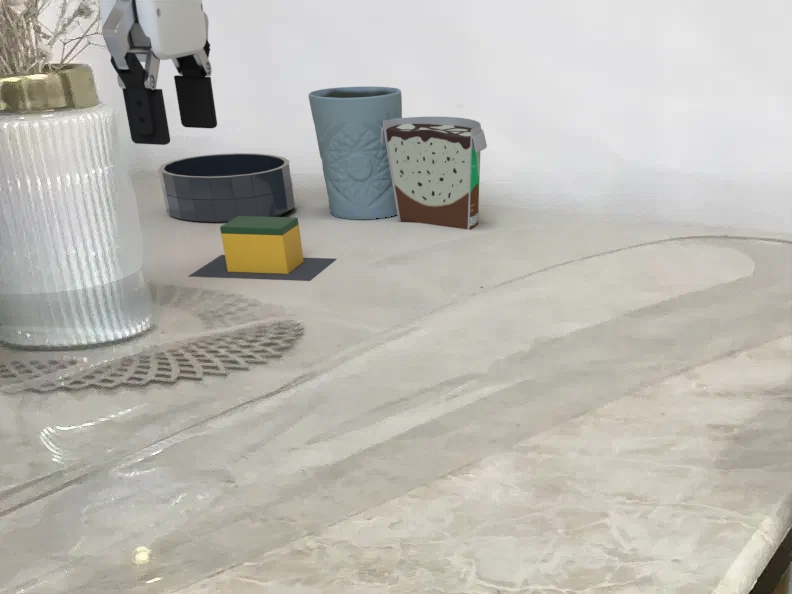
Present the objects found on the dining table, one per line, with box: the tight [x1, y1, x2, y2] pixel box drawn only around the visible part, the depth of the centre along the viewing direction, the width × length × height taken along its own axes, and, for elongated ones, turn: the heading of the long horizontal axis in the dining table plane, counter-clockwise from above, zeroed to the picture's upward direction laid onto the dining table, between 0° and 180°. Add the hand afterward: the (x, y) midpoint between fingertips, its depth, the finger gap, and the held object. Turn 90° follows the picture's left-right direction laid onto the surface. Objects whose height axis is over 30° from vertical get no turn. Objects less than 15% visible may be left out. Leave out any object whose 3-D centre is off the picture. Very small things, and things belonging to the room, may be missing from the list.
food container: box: [381, 116, 488, 231], centre depth 122 cm, size 12×6×10 cm, turn 59°
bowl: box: [158, 152, 296, 223], centre depth 128 cm, size 14×14×5 cm
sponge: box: [219, 216, 304, 274], centre depth 108 cm, size 6×4×4 cm
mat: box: [187, 254, 338, 282], centre depth 109 cm, size 12×8×1 cm, turn 81°
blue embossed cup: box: [308, 86, 403, 220], centre depth 127 cm, size 10×10×12 cm
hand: (176, 135), depth 99 cm, fingers open, 9 cm apart
